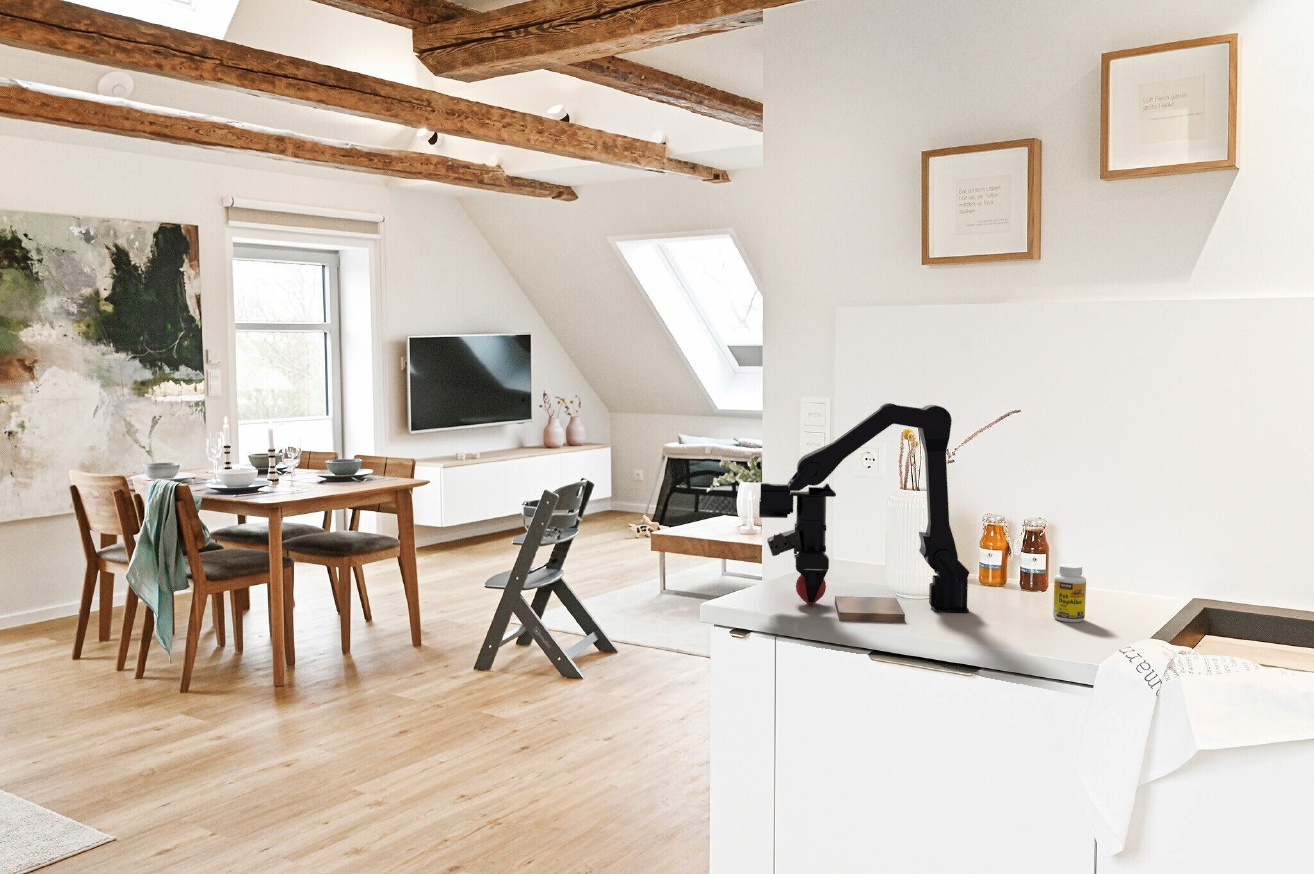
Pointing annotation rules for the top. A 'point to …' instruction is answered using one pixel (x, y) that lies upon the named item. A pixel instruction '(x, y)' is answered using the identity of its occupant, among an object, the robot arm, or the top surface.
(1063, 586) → the supplement bottle
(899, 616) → the walnut board
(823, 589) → the onion
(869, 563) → the top surface
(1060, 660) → the top surface
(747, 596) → the top surface
